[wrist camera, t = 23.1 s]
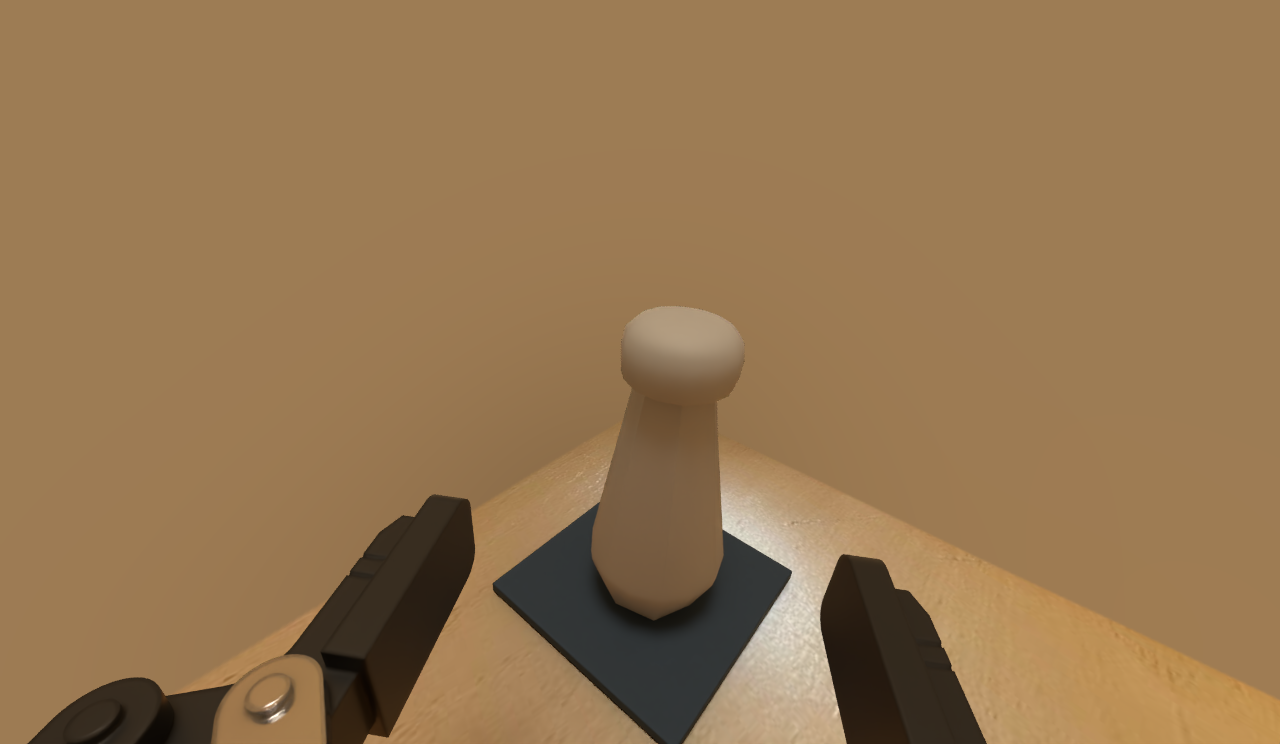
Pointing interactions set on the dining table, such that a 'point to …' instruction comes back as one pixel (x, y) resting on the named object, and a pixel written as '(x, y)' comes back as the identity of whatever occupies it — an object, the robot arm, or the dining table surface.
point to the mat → (644, 627)
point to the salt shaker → (667, 462)
